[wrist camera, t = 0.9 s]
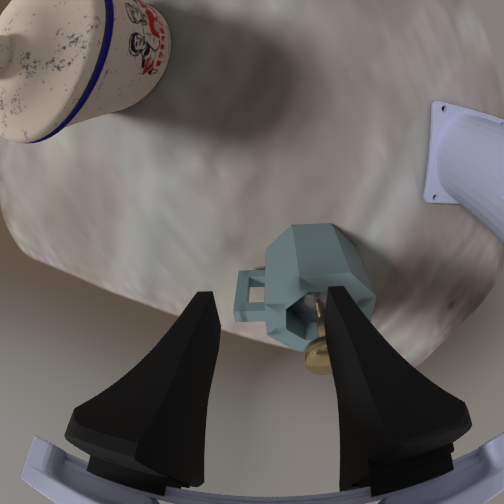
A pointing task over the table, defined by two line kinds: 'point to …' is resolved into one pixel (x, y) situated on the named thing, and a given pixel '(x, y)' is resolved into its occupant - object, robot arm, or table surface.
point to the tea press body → (302, 281)
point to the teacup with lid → (75, 62)
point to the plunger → (314, 311)
